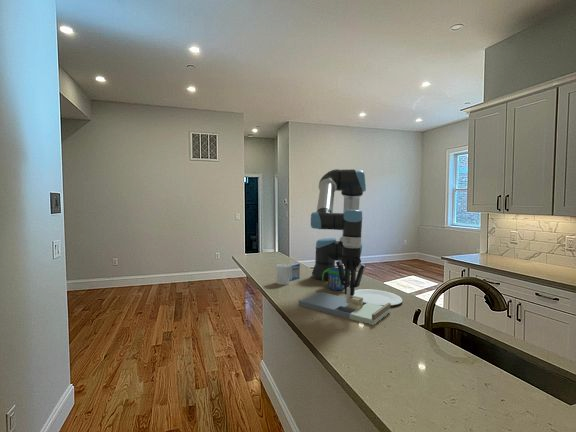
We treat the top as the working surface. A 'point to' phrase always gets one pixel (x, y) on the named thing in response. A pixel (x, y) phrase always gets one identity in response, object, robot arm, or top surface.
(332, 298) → the board
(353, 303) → the maple block
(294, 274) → the medicine box
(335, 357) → the top surface
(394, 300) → the plate
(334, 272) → the snack cup
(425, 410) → the top surface
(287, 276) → the white cup
